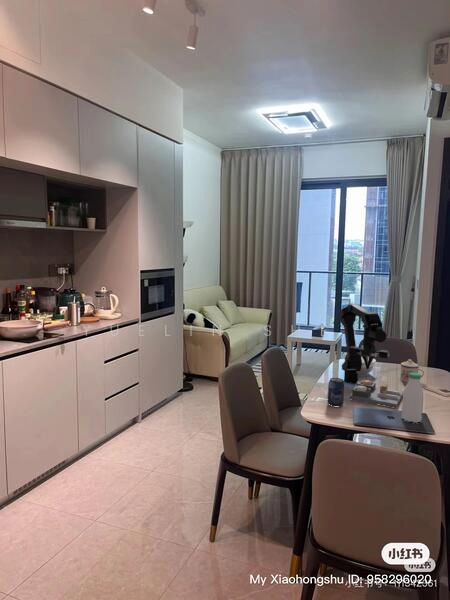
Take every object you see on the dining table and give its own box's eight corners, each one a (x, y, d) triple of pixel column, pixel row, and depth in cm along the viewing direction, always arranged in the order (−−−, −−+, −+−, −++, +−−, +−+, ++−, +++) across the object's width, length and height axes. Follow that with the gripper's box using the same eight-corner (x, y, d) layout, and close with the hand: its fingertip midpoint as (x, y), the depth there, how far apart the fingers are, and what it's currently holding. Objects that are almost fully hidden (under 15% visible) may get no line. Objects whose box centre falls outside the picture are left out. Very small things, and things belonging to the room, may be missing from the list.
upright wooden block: (379, 394, 204) (380, 385, 203) (381, 392, 208) (382, 383, 208) (385, 395, 203) (385, 386, 202) (387, 392, 207) (387, 384, 206)
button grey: (355, 392, 204) (356, 387, 204) (358, 390, 208) (358, 385, 208) (365, 394, 202) (365, 389, 202) (367, 391, 206) (367, 386, 205)
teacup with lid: (398, 381, 233) (400, 360, 232) (400, 377, 242) (401, 356, 240) (423, 385, 228) (424, 363, 227) (423, 380, 236) (425, 359, 235)
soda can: (331, 408, 191) (332, 382, 190) (324, 402, 198) (326, 377, 197) (345, 407, 193) (347, 381, 191) (338, 402, 200) (340, 377, 198)
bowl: (351, 368, 258) (352, 354, 257) (378, 373, 249) (379, 358, 248) (341, 374, 245) (342, 359, 244) (370, 379, 236) (370, 364, 235)
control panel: (349, 399, 203) (349, 390, 203) (358, 388, 220) (359, 379, 220) (396, 408, 193) (397, 398, 192) (402, 395, 210) (403, 386, 210)
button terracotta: (361, 386, 214) (361, 381, 213) (363, 384, 217) (363, 379, 217) (370, 388, 211) (370, 383, 211) (372, 385, 215) (372, 380, 215)
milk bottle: (420, 425, 174) (423, 377, 172) (399, 421, 178) (403, 374, 176) (422, 419, 181) (426, 373, 179) (403, 415, 185) (406, 370, 183)
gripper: (346, 338, 209) (344, 369, 211) (386, 343, 200) (384, 376, 202) (351, 334, 219) (350, 364, 221) (390, 339, 210) (388, 370, 212)
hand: (367, 368), depth 213 cm, fingers closed
